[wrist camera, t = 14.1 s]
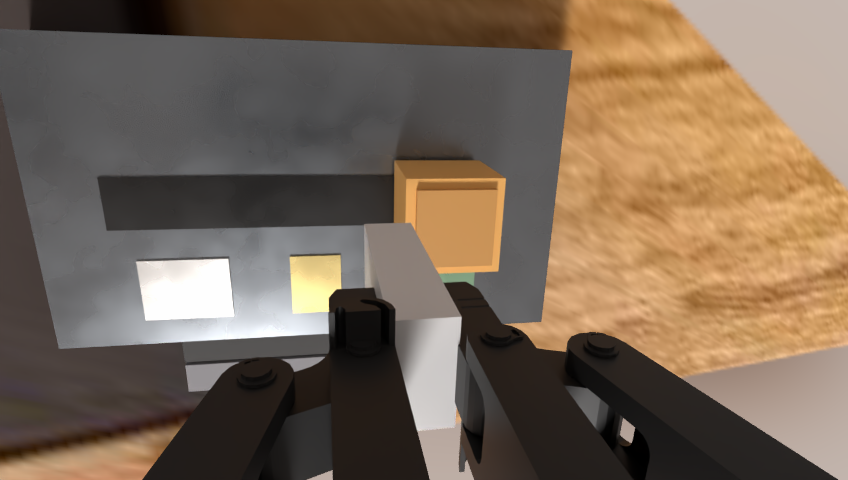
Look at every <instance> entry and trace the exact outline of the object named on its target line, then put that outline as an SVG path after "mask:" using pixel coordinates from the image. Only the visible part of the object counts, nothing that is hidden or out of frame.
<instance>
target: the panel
mask: <svg viewBox="0 0 848 480" xmlns="http://www.w3.org/2000/svg"><path fill="white" fill-rule="evenodd" d="M571 58H572V51H571V50H544V49H518V48H491V47H465V46H438V45H411V44H385V43H358V42H332V41H305V40H279V39H252V38H226V37H199V36H172V35H146V34H119V33H93V32H66V31H40V30H13V29H0V91H1V95H2V100H3V104H4V109H5V113H6V117H7V122H8V126H9V131H10V135H11V139H12V144H13V148H14V152H15V157H16V161H17V166H18V170H19V174H20V179H21V183H22V188H23V192H24V196H25V201H26V205H27V210H28V214H29V218H30V223H31V227H32V232H33V236H34V240H35V245H36V249H37V253H38V258H39V262H40V267H41V271H42V275H43V280H44V284H45V289H46V293H47V297H48V302H49V306H50V311H51V315H52V319H53V324H54V328H55V332H56V337H57V341H58V346H59V349H63V348H81V347H99V346H117V345H135V344H153V343H170V342H188V341H206V340H224V339H242V338H260V337H278V336H295V335H313V334H329V322H328V312H329V297H330V296H331V295H332V294H333V292H334V291H335V290H336V289H350V288H365V255H364V224H380V223H394V163H395V160H479V161H481V162H482V163H484V164H485V165H487V166H488V167H490V168H491V169H493V170H494V171H496V172H497V173H499V174H500V175H502V176H503V177H505V178H506V184H505V196H504V208H503V221H502V233H501V245H500V257H499V269H498V271H496V272H470V273H443V274H439V276H440V278H441V280H442V281H443V283H446V282H467V283H469V284H471V285H473V286H474V287H476V288H478V289H479V291H480V292H481V294H482V295H483V296H484V299H485V300H486V301H487V302H488V304H489V307H491V308H492V310H493V311H494V313H495V314H496V316H497V317H498V318H499V320H500V321H501V323H502V324H510V323H527V322H541V319H542V310H543V302H544V293H545V284H546V276H547V267H548V258H549V249H550V241H551V232H552V223H553V215H554V206H555V197H556V189H557V180H558V171H559V163H560V154H561V145H562V136H563V128H564V119H565V110H566V102H567V93H568V84H569V76H570V67H571Z"/></svg>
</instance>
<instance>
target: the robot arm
mask: <svg viewBox="0 0 848 480" xmlns="http://www.w3.org/2000/svg"><path fill="white" fill-rule="evenodd" d="M364 255H365V288H350V289H336V290H335V291H334V292H333V294H332V295H331V296H330V297H329V312H328V322H329V352H328V354H327V355H326V357H325V358H324V359H322V360H321V361H320V362H319V363H317V364H315V365H313V366H311V367H308V368H305V369H303V370H299V371H295V372H294V370H293V368H292V367H291V365H290V364H289V363H287V362H285V361H284V360H282V359H277V358H272V357H256V358H251V359H247V360H244V361H241V362H239V363H237V364H235V365H233V366H231V367H229V368H228V369H227V370H226V371H225V372H224V373H222V374H221V376H220V377H219V378H218V380H217V381H216V382H215V384H214V385H213V386H212V388H211V389H210V390H209V392H208V393H207V394H206V396H205V397H204V398H203V400H202V401H201V402H200V404H199V405H198V406H197V408H196V409H195V410H194V412H193V413H192V414H191V416H190V417H189V418H188V420H187V421H186V422H185V424H184V425H183V426H182V428H181V429H180V430H179V432H178V433H177V434H176V436H175V437H174V438H173V440H172V441H171V442H170V444H169V445H168V446H167V448H166V449H165V450H164V452H163V453H162V454H161V456H160V457H159V458H158V460H157V461H156V462H155V464H154V465H153V466H152V467H151V469H150V470H149V471H148V473H147V474H146V475H145V477H144V478H143V479H142V480H307V479H309V478H312V477H315V476H317V475H320V474H323V473H325V472H328V471H331V470H333V480H430V479H429V475H428V471H427V467H426V464H425V460H424V456H423V452H422V448H421V444H420V440H419V436H418V432H417V431H424V430H433V429H443V428H453V427H455V420H456V407H457V409H458V412H459V414H460V417H461V419H462V421H461V437H460V452H459V472H464V469H465V462H466V460H468V463H469V466H470V469H471V472H472V475H473V477H474V480H838V479H836V478H835V477H833V476H832V475H830V474H829V473H827V472H825V471H824V470H822V469H821V468H819V467H818V466H816V465H815V464H813V463H811V462H810V461H808V460H807V459H805V458H804V457H802V456H801V455H799V454H797V453H796V452H794V451H793V450H791V449H790V448H788V447H787V446H785V445H783V444H782V443H780V442H779V441H777V440H776V439H774V438H772V437H771V436H770V435H768V434H766V433H765V432H763V431H762V430H760V429H758V428H757V427H756V426H754V425H752V424H751V423H749V422H748V421H746V420H745V419H743V418H742V417H740V416H738V415H737V414H735V413H734V412H732V411H731V410H729V409H728V408H726V407H724V406H723V405H721V404H720V403H718V402H717V401H715V400H713V399H712V398H710V397H709V396H707V395H706V394H704V393H702V392H701V391H699V390H698V389H696V388H695V387H693V386H692V385H690V384H689V383H687V382H686V381H684V380H682V379H681V378H679V377H678V376H676V375H675V374H673V373H672V372H670V371H668V370H667V369H665V368H664V367H662V366H661V365H659V364H658V363H656V362H654V361H653V360H651V359H650V358H648V357H647V356H645V355H644V354H642V353H640V352H639V351H637V350H636V349H634V348H633V347H631V346H630V345H628V344H626V343H625V342H623V341H621V340H619V339H617V338H615V337H612V336H608V335H606V334H604V333H598V332H597V333H596V332H589V333H579V334H577V335H574V336H572V337H571V338H570V339H569V341H568V343H567V350H566V352H562V351H552V350H544V349H538V348H536V347H535V346H534V344H533V343H532V341H531V340H530V339H529V337H528V336H527V335H526V334H525V333H523V332H522V331H521V330H519V329H517V328H515V327H512V326H509V325H504V324H502V323H501V321H500V320H499V318H498V317H497V316H496V314H495V313H494V311H493V310H492V308H491V307H489V304H488V302H487V301H486V300H485V299H484V296H483V295H482V294H481V292H480V291H479V289H478V288H476V287H474V286H473V285H471V284H469V283H467V282H446V283H443V281H442V280H441V278H440V276H439V274H438V272H437V270H436V268H435V267H434V265H433V263H432V261H431V259H430V257H429V255H428V254H427V252H426V250H425V248H424V246H423V244H422V243H421V241H420V239H419V237H418V235H417V233H416V231H415V230H414V228H413V226H412V224H411V223H380V224H364ZM623 418H624V419H626V420H627V421H628V422H629V423H631V424H632V425H633V426H634V427H635V432H634V437H633V441H632V443H629V442H628V441H626V440H625V439H624V438H622V437H621V436H620V431H621V425H622V420H623Z"/></svg>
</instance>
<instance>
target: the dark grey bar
mask: <svg viewBox="0 0 848 480" xmlns="http://www.w3.org/2000/svg"><path fill="white" fill-rule="evenodd" d="M182 345H183V352H184V359H185V362H199V361H215V360H231V359H247V358H256V357H279V356H295V355H311V354H327V353H328V352H329V334H313V335H295V336H278V337H260V338H242V339H224V340H206V341H188V342H182Z"/></svg>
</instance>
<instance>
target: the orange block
mask: <svg viewBox="0 0 848 480" xmlns="http://www.w3.org/2000/svg"><path fill="white" fill-rule="evenodd" d="M505 184H506V178H505V177H503V176H502V175H500V174H499V173H497V172H496V171H494V170H493V169H491V168H490V167H488V166H487V165H485V164H484V163H482V162H481V161H479V160H395V163H394V223H411V224H412V226H413V228H414V230H415V231H416V233H417V235H418V237H419V239H420V241H421V243H422V244H423V246H424V248H425V250H426V252H427V254H428V255H429V257H430V259H431V261H432V263H433V265H434V267H435V268H436V270H437V272H438V274H443V273H470V272H496V271H498V269H499V257H500V245H501V233H502V221H503V208H504V196H505Z"/></svg>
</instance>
